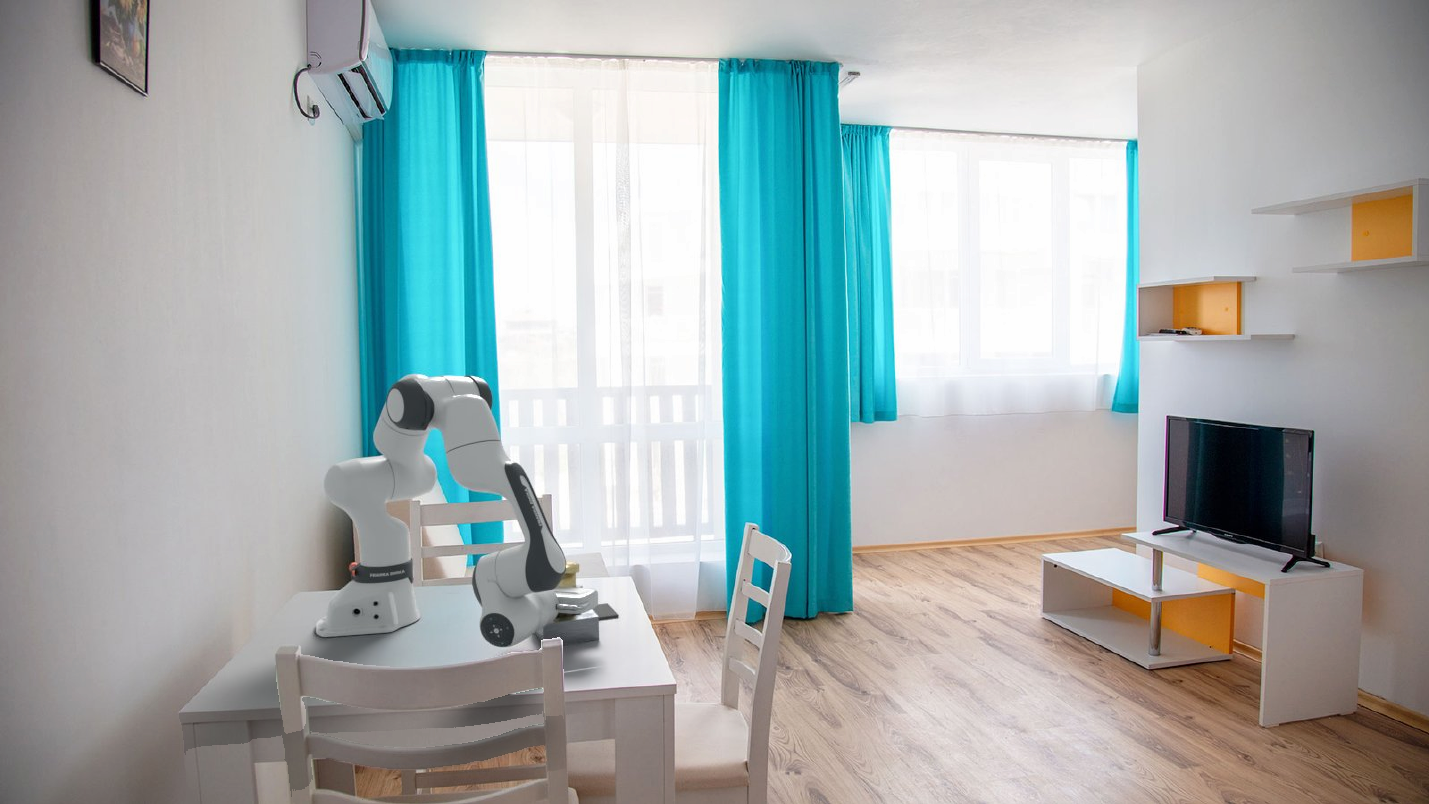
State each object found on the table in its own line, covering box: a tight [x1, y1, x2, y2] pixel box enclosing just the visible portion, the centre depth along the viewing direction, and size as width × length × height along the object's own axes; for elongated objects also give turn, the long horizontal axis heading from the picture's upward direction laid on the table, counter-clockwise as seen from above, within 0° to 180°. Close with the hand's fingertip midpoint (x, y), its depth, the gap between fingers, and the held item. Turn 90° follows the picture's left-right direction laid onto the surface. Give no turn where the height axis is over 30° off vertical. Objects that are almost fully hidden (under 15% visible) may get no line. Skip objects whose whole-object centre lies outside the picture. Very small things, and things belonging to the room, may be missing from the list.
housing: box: [534, 609, 600, 645], centre depth 186 cm, size 12×12×5 cm
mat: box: [592, 602, 620, 621], centre depth 200 cm, size 10×10×1 cm
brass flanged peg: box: [556, 561, 580, 618], centre depth 185 cm, size 7×7×13 cm
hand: (566, 587), depth 186 cm, fingers closed on brass flanged peg, 5 cm apart
